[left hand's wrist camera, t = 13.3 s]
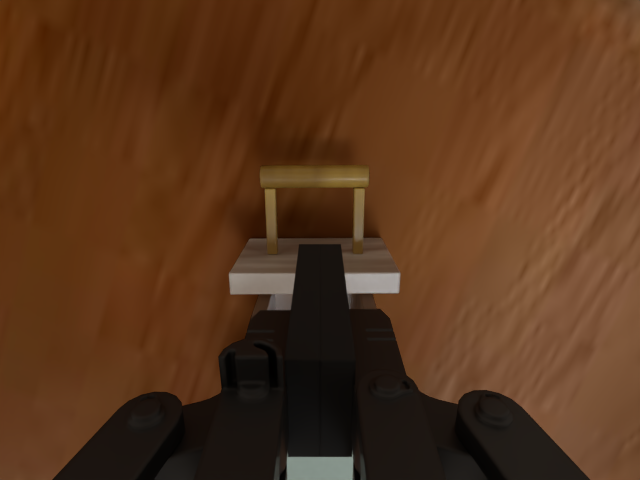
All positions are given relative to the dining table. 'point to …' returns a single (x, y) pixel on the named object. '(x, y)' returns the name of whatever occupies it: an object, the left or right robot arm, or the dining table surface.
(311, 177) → the drawer
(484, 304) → the dining table surface
